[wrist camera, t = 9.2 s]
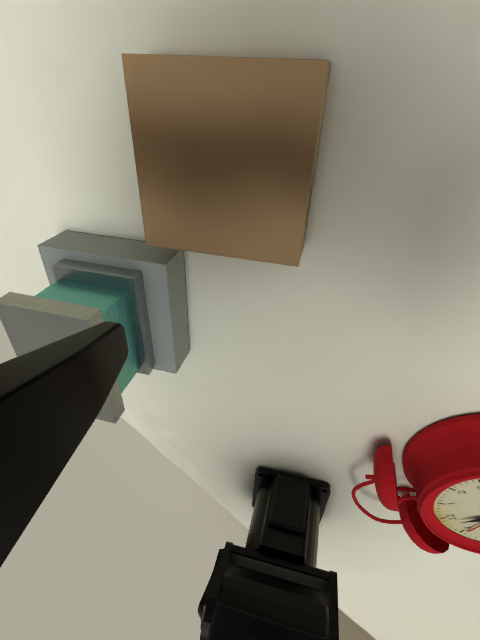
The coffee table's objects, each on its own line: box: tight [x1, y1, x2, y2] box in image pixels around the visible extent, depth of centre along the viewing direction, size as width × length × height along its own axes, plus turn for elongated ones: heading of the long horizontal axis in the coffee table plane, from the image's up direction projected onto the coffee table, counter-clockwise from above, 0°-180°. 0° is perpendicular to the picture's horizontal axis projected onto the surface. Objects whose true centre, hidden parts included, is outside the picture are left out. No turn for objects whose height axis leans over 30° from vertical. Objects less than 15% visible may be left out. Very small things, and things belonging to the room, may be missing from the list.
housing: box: [0, 258, 156, 423], centre depth 20 cm, size 5×7×5 cm
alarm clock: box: [352, 414, 480, 554], centre depth 23 cm, size 10×6×15 cm
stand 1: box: [38, 231, 190, 373], centre depth 23 cm, size 8×8×2 cm
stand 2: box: [122, 54, 331, 267], centre depth 16 cm, size 8×8×2 cm
